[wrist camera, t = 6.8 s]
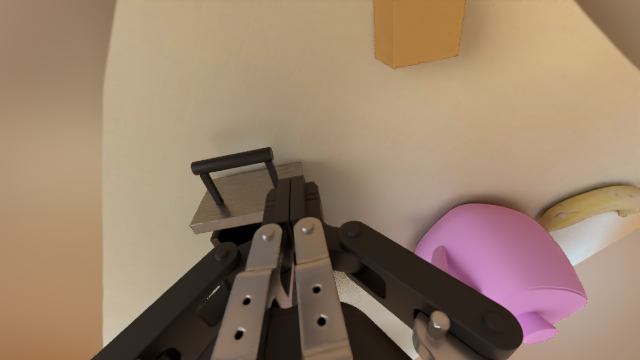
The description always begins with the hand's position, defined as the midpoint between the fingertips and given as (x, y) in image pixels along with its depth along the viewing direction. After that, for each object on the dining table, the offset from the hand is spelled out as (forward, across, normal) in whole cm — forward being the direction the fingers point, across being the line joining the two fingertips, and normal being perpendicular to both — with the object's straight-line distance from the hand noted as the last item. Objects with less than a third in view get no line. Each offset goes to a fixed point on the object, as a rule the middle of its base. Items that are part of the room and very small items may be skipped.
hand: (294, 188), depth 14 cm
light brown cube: (+13, -11, -6) cm, 18 cm away
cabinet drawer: (+12, +6, +10) cm, 17 cm away
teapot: (+13, -22, +25) cm, 36 cm away
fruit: (+13, -41, +22) cm, 48 cm away
